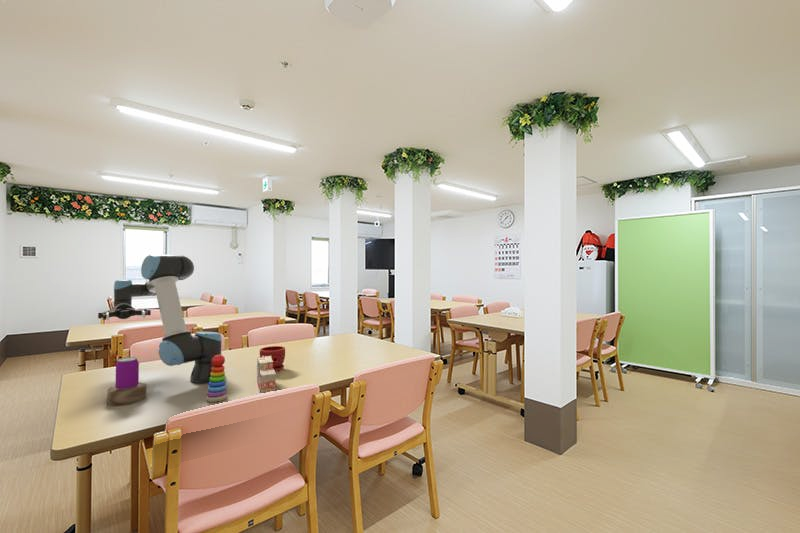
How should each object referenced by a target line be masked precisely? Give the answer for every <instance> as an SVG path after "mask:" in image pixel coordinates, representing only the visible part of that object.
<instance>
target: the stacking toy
mask: <svg viewBox="0 0 800 533" xmlns="http://www.w3.org/2000/svg"><path fill="white" fill-rule="evenodd" d="M225 362H226V358H225V356H224V355H222V354H221V355H215V356H214V357H213V358H212V364H213V365H214V366H213V367H212V368H211V370H212V372H211V373H210V375H211V377H210V382H209V383H208V387H207V391H206V396H205V400H206V401H207V402H210V403H217V401H218V402H222V401H224V400H225V399H226V398H228V393H227V384H226V382H227V381H226V372H224V371H225V368H226V367H225V365H224V364H225ZM223 370H224V371H223ZM224 374H225V375H224Z"/></svg>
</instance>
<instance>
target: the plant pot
mask: <svg viewBox="0 0 800 533" xmlns="http://www.w3.org/2000/svg"><path fill="white" fill-rule="evenodd" d="M265 356H271V358H272V360H273V369H274V371H275V373H276V372H280V371H281V370H283V369H284V368H285V365H284V362H285V358H286V347H285V346H281V345H278V346H277V345H272V346H271V345H270V346H265V347H262V348H260V349H259V357H265Z"/></svg>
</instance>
